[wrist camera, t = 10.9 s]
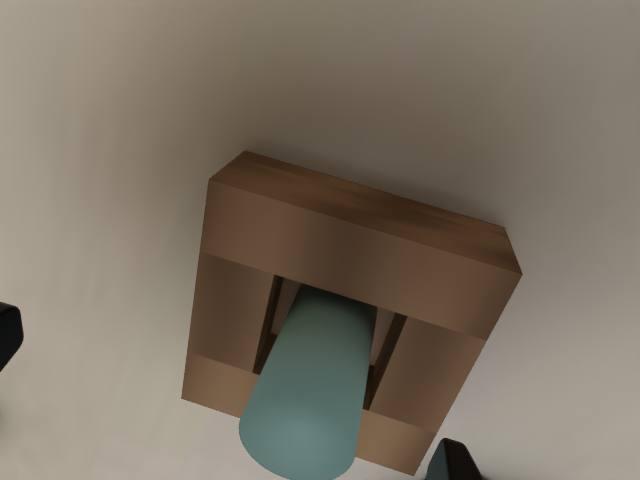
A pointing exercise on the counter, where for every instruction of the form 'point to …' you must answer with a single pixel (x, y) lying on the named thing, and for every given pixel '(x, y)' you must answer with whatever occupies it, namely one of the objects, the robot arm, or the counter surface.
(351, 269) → the socket block
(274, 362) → the pin
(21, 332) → the robot arm
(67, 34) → the counter surface
